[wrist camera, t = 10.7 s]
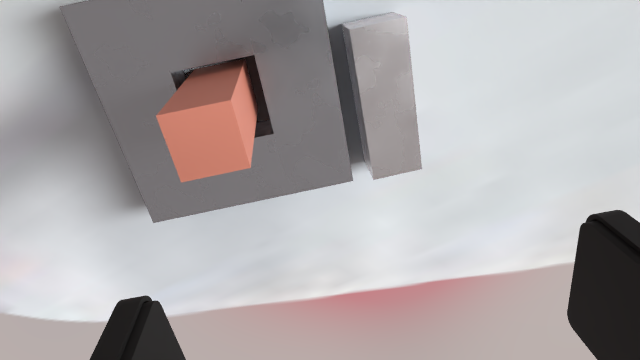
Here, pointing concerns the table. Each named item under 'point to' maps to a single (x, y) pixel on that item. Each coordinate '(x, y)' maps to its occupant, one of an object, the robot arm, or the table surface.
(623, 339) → the robot arm
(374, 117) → the tilted grey slab block
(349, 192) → the table surface
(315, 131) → the square hole plate
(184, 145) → the pin
